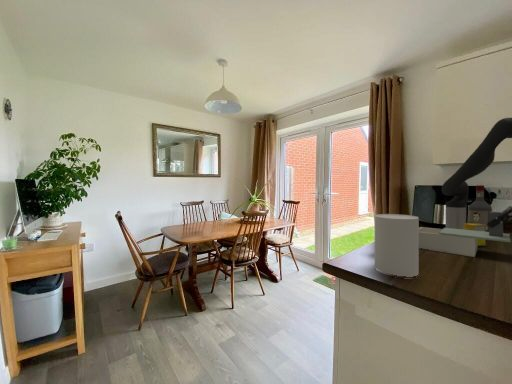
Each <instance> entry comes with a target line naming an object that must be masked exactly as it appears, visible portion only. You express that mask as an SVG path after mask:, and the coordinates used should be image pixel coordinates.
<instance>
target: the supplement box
mask: <svg viewBox="0 0 512 384" xmlns="http://www.w3.org/2000/svg"><path fill="white" fill-rule="evenodd" d="M485 228H486V225H482V224H477V223H468V222H466V223H463V230H473V231H484V232H485ZM486 243H487V242H486V239H477V248H478V247H482V248H485V247H486Z"/></svg>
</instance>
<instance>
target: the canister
mask: <svg viewBox="0 0 512 384" xmlns="http://www.w3.org/2000/svg"><path fill="white" fill-rule="evenodd" d="M419 219H420V218H419V216H415V215H410V214H409V215H408V214H399V213H397V214H396V213H381V214H378V213H377V214H375V215H374V268H375V267H376V268H377V269H379V270H381V271H384V272H386V273H389V274H393V275H397V276H406V277H413V276H417V275H418V274H419V275H420V273H419V269H420V268H419V258H420V257H419V251H420V250H419V249H420V248H419V228H420V227H419V224H420V223H419V222H420V221H419ZM419 275H418V276H419Z"/></svg>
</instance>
